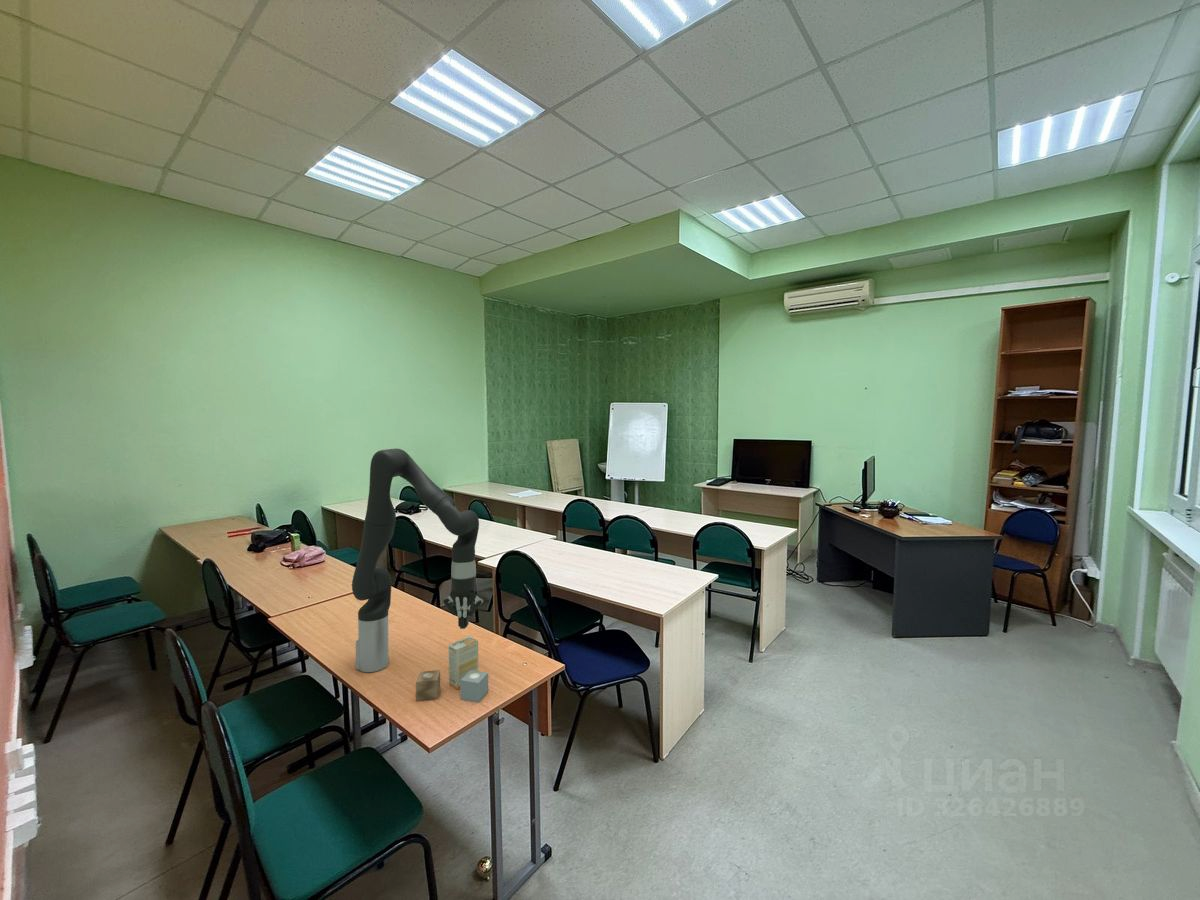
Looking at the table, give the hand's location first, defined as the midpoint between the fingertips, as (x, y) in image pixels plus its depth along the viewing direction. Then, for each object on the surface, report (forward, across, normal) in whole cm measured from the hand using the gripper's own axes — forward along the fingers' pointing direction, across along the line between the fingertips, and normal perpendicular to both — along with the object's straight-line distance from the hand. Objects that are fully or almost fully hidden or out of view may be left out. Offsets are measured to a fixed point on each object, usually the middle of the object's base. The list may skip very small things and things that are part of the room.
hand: (463, 627), depth 149 cm
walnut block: (+18, -8, -8) cm, 21 cm away
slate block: (+18, +6, -7) cm, 20 cm away
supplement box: (+18, 0, 0) cm, 18 cm away
